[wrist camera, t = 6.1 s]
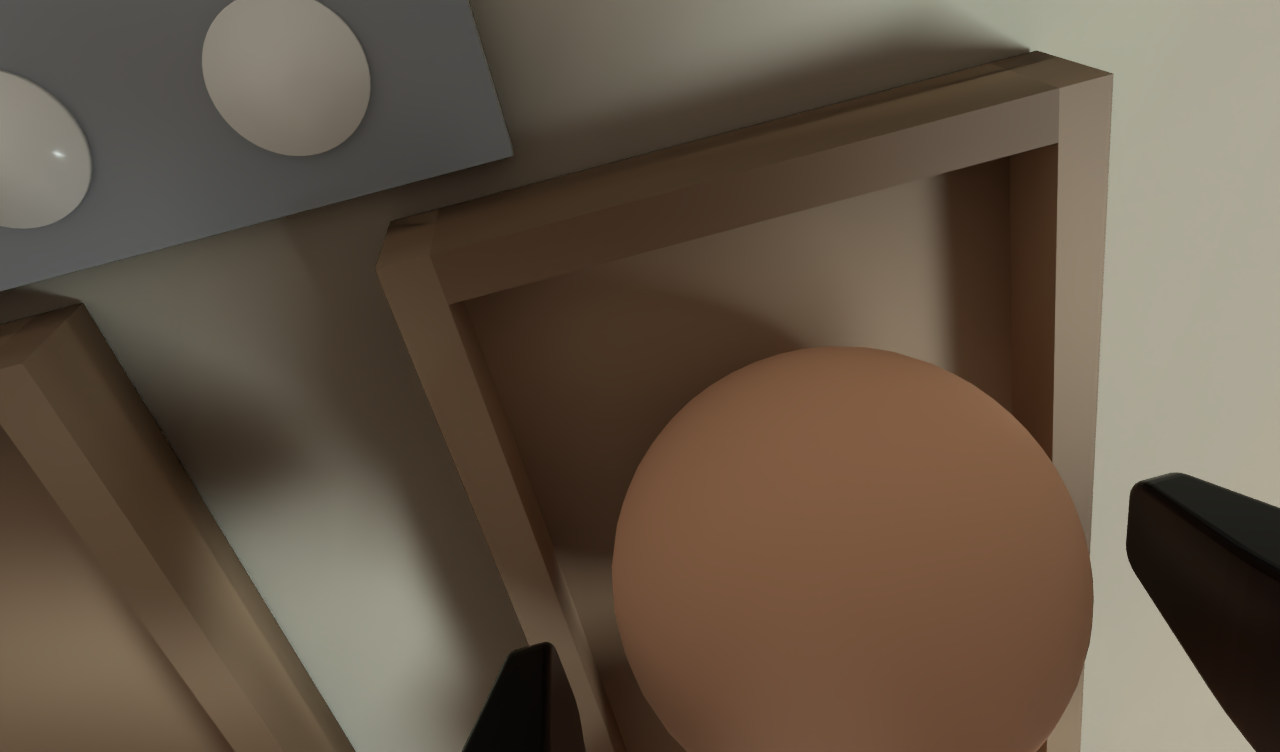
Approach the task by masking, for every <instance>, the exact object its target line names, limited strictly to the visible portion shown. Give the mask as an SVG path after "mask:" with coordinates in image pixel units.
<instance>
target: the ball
mask: <svg viewBox="0 0 1280 752" xmlns="http://www.w3.org/2000/svg"><path fill="white" fill-rule="evenodd" d="M612 581H613V597H614V611H615V615H616V620H617V624H618V628H619V633H620V636H621V640H622V644H623V648H624V652H625V655H626V657H627V660H628V662H629V664H630V667H631V669H632V671H633V674H634V676H635V678H636V680H637V682H638V685H639V687H640V689H641V691H642V693H643V696H644V697H645V698H646V700H647V701H648V703H649V704H650V706H651V707H652V709H653V710H654V712H655V713H656V715H657V716H658V718H659V719H660V721H661V722H662V724H663V725H664V727H665V728H666V729H667V731H668V732H669V734H670V735H671V736H672V737H673V738H674V739H675V740H676V741H677V742H678V743H679V744H680V745H681V746H682V747H683V748H684V749H685V750H686V751H687V752H1036V751H1037V750H1038V749H1039V748H1040V747H1041V746H1042V744H1043V743H1044V742H1045V741H1046V739H1047V738H1048V737H1049V736H1050V734H1051V733H1052V731H1053V730H1054V728H1055V727H1056V725H1057V723H1058V722H1059V720H1060V719H1061V717H1062V715H1063V713H1064V711H1065V709H1066V708H1067V706H1068V704H1069V702H1070V700H1071V698H1072V696H1073V694H1074V692H1075V689H1076V687H1077V685H1078V682H1079V679H1080V676H1081V672H1082V669H1083V666H1084V662H1085V658H1086V655H1087V651H1088V648H1089V643H1090V636H1091V629H1092V618H1093V601H1094V600H1093V578H1092V570H1091V563H1090V556H1089V551H1088V546H1087V542H1086V538H1085V533H1084V530H1083V527H1082V524H1081V521H1080V518H1079V515H1078V512H1077V510H1076V507H1075V505H1074V503H1073V500H1072V498H1071V496H1070V494H1069V491H1068V489H1067V487H1066V486H1065V484H1064V482H1063V480H1062V478H1061V476H1060V475H1059V473H1058V471H1057V469H1056V467H1055V466H1054V465H1053V463H1052V462H1051V460H1050V459H1049V457H1048V456H1047V454H1046V453H1045V452H1044V450H1043V449H1042V447H1041V446H1040V445H1039V444H1038V443H1037V441H1036V440H1035V439H1034V438H1033V436H1032V435H1031V434H1030V433H1029V432H1028V430H1027V429H1026V428H1025V427H1024V426H1023V425H1022V424H1021V423H1020V422H1019V421H1018V420H1017V419H1016V418H1015V417H1014V416H1013V415H1012V414H1011V413H1010V412H1008V411H1007V410H1006V409H1005V408H1004V407H1002V406H1001V405H1000V404H999V403H998V402H996V401H995V400H994V399H993V398H991V397H990V396H989V395H987V394H986V393H984V392H983V391H981V390H980V389H979V388H977V387H976V386H974V385H973V384H971V383H969V382H967V381H966V380H964V379H962V378H960V377H958V376H957V375H955V374H953V373H951V372H949V371H946V370H944V369H942V368H940V367H938V366H936V365H934V364H931V363H928V362H925V361H922V360H919V359H915V358H912V357H909V356H905V355H902V354H899V353H895V352H892V351H886V350H880V349H874V348H868V347H839V346H827V347H816V348H805V349H800V350H795V351H790V352H786V353H781V354H777V355H774V356H771V357H768V358H765V359H762V360H759V361H756V362H754V363H752V364H749V365H747V366H745V367H743V368H741V369H738V370H736V371H734V372H732V373H730V374H729V375H727V376H725V377H724V378H722V379H720V380H719V381H717V382H715V383H714V384H712V385H710V386H709V387H708V388H706V389H705V390H704V391H702V392H701V393H700V394H698V395H697V396H696V397H694V398H693V399H692V400H691V401H689V402H688V403H687V404H686V405H685V406H684V407H683V408H682V409H681V410H680V411H679V412H678V413H677V414H676V415H675V416H674V417H673V418H672V419H671V420H670V422H669V423H668V424H667V425H666V426H665V428H664V429H663V430H662V431H661V433H660V434H659V435H658V436H657V438H656V439H655V441H654V442H653V443H652V445H651V446H650V448H649V449H648V451H647V453H646V454H645V456H644V458H643V459H642V461H641V462H640V464H639V466H638V468H637V470H636V472H635V474H634V477H633V479H632V481H631V483H630V486H629V488H628V491H627V493H626V496H625V499H624V502H623V505H622V509H621V512H620V516H619V519H618V523H617V528H616V536H615V544H614V553H613V561H612Z"/></svg>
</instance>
